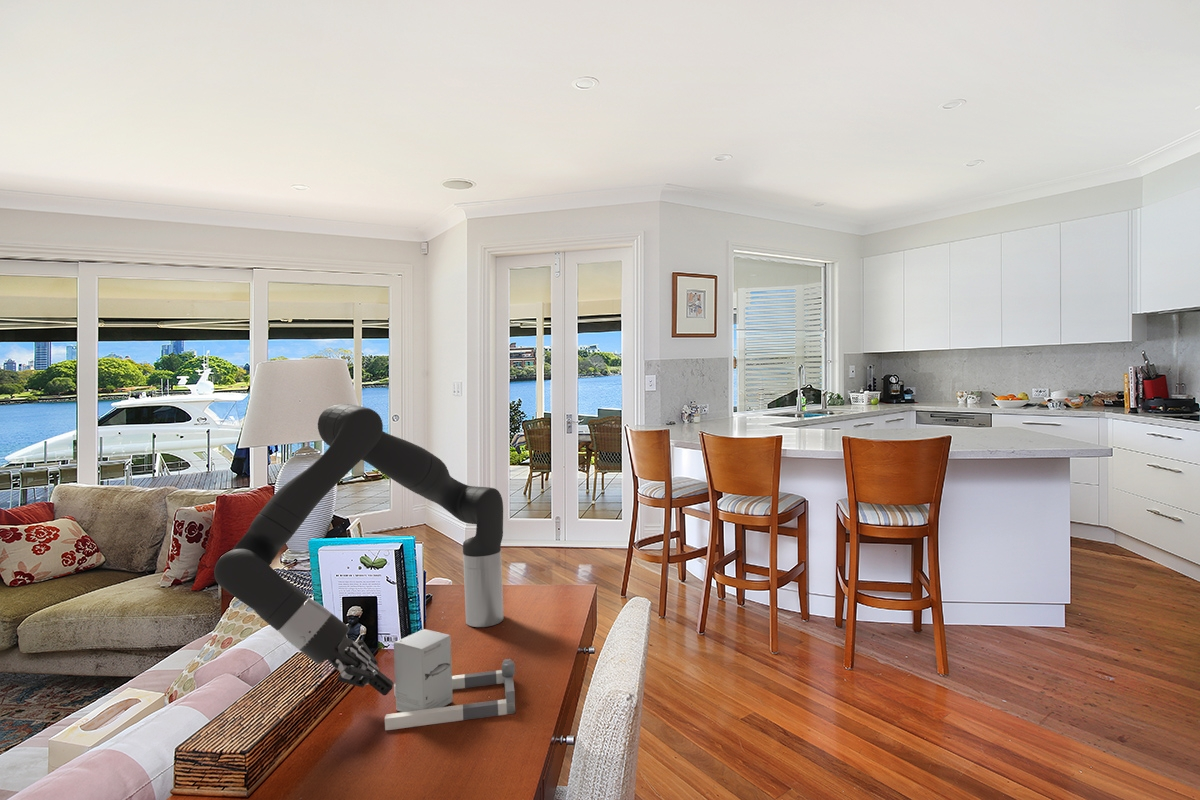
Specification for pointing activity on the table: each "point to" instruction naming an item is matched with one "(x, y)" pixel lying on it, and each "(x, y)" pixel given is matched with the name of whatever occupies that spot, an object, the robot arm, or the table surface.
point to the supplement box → (423, 671)
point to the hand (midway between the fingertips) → (389, 689)
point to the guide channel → (466, 709)
